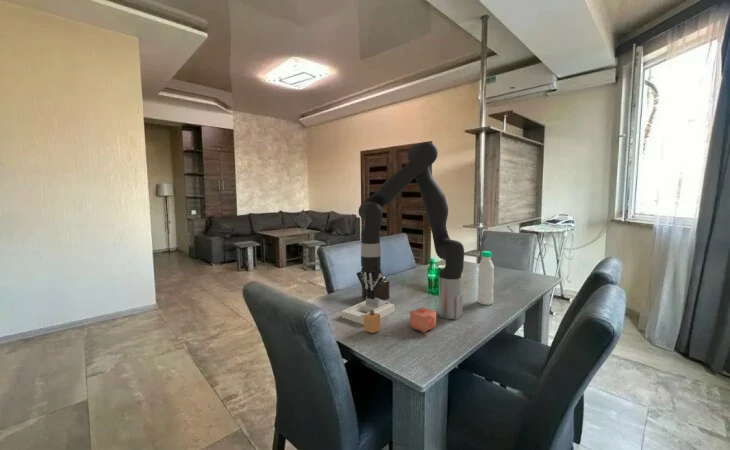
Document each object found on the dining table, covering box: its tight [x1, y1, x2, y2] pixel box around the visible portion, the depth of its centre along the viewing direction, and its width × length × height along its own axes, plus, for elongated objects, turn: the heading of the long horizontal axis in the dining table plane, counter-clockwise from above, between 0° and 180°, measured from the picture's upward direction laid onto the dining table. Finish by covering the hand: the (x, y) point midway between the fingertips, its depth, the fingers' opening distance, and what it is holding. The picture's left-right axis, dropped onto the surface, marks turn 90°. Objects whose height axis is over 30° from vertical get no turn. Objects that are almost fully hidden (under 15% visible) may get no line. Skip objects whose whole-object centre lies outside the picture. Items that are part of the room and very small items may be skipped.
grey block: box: [365, 296, 387, 308], centre depth 147 cm, size 7×7×4 cm
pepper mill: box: [361, 277, 390, 301], centre depth 166 cm, size 16×11×18 cm
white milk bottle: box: [477, 250, 495, 306], centre depth 155 cm, size 7×7×25 cm
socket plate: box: [341, 299, 396, 326], centre depth 143 cm, size 14×20×4 cm
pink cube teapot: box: [409, 306, 437, 334], centre depth 128 cm, size 8×12×8 cm, turn 42°
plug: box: [363, 310, 381, 334], centre depth 126 cm, size 4×4×8 cm
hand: (371, 298), depth 125 cm, fingers closed
